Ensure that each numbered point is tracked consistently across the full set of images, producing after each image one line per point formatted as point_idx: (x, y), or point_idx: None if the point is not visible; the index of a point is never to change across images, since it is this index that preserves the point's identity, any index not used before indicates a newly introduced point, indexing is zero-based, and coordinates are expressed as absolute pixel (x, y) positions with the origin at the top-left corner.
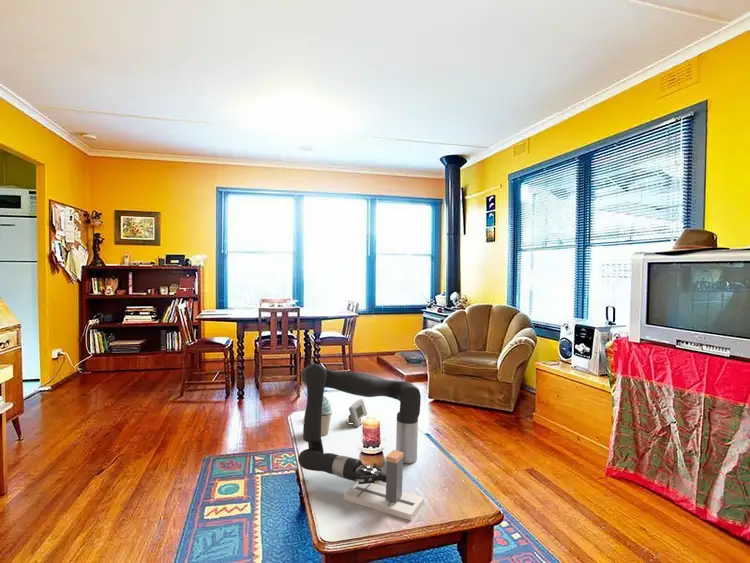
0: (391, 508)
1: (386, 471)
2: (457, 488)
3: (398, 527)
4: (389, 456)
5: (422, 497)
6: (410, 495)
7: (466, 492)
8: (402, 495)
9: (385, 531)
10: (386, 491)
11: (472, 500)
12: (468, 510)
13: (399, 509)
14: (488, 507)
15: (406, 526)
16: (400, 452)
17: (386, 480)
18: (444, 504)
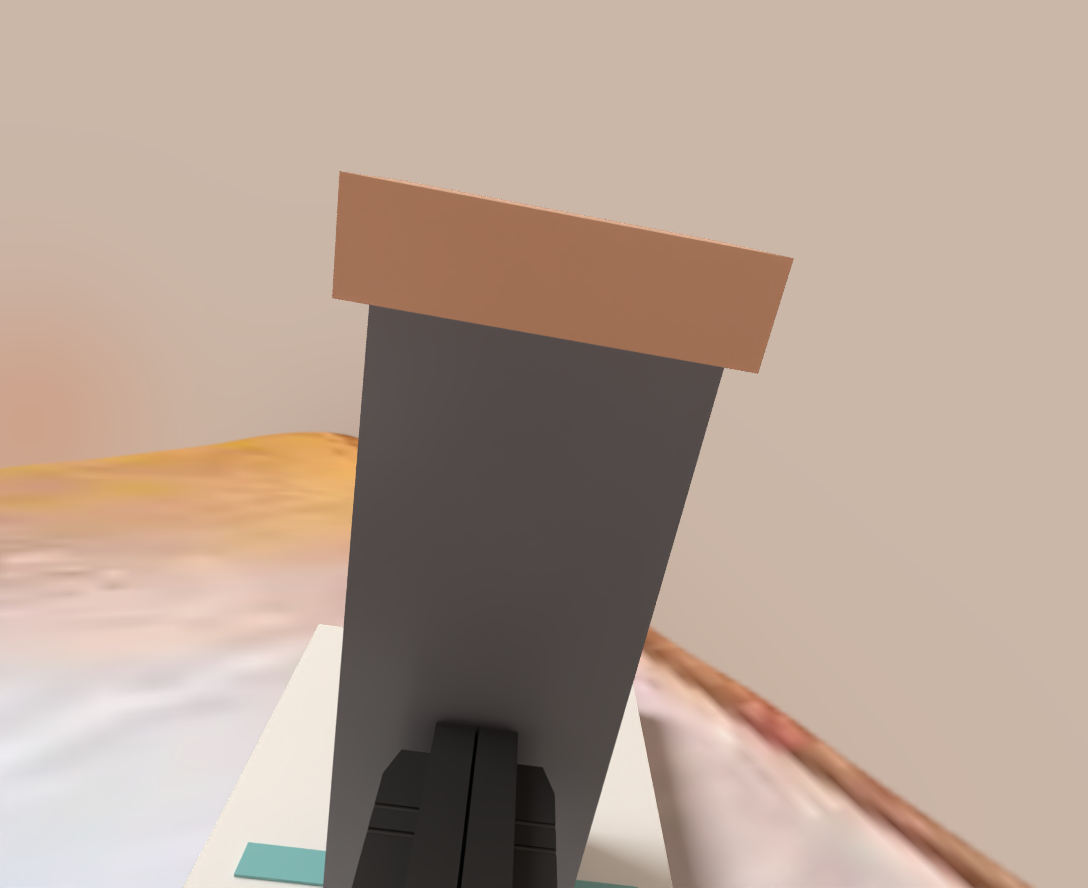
0: (660, 845)
1: (656, 599)
2: (35, 512)
3: (765, 771)
4: (736, 246)
5: (321, 632)
6: (303, 726)
7: (109, 483)
8: (323, 805)
9: (903, 854)
10: (572, 879)
11: (221, 471)
12: (342, 487)
13: (622, 764)
14: (288, 439)
15: (706, 722)
16: (431, 186)
17: (613, 741)
18: (302, 563)
